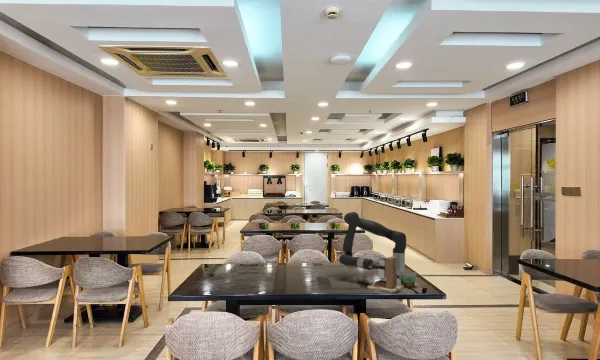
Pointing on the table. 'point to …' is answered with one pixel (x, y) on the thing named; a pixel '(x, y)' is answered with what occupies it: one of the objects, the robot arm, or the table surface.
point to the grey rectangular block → (381, 272)
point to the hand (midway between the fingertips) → (386, 267)
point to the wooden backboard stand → (388, 278)
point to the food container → (407, 279)
